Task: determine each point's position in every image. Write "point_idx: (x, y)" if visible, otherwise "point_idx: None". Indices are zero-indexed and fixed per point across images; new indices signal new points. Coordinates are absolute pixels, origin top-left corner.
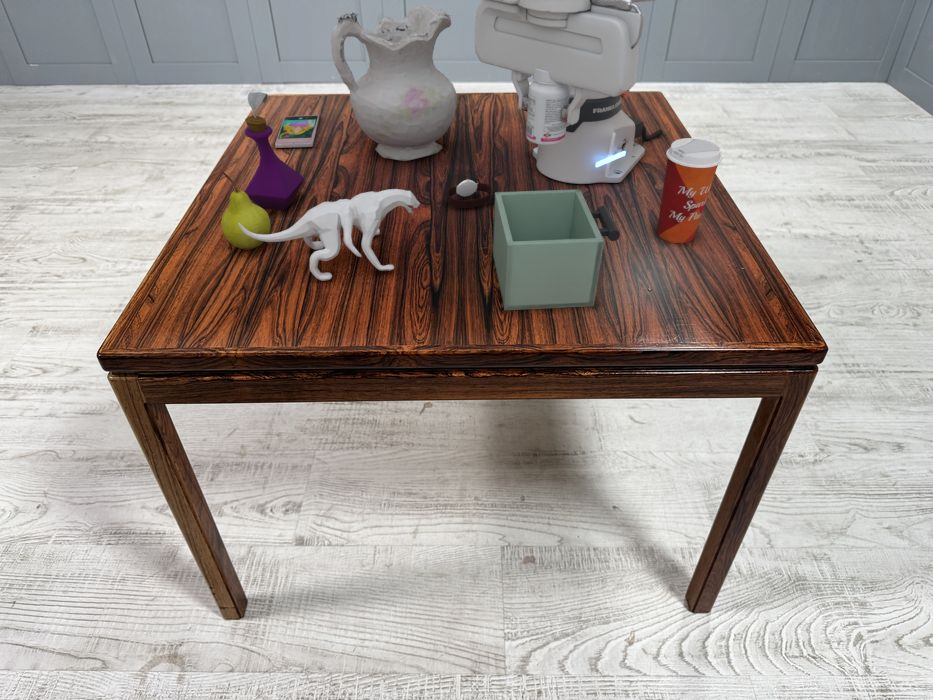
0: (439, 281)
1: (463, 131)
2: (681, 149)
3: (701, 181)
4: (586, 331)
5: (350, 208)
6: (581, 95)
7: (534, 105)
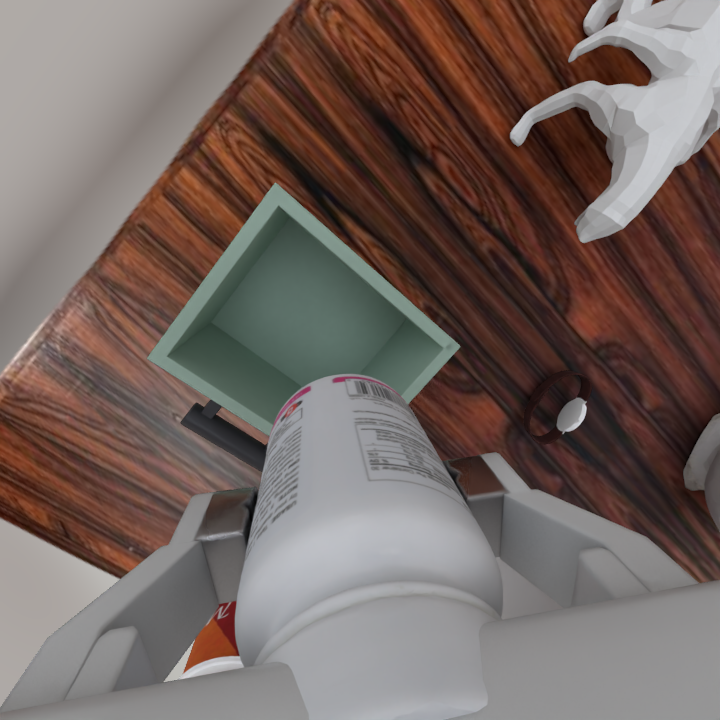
0: (428, 185)
1: (686, 543)
2: None
3: (193, 647)
4: (156, 259)
5: (689, 63)
6: (37, 661)
7: (367, 448)
